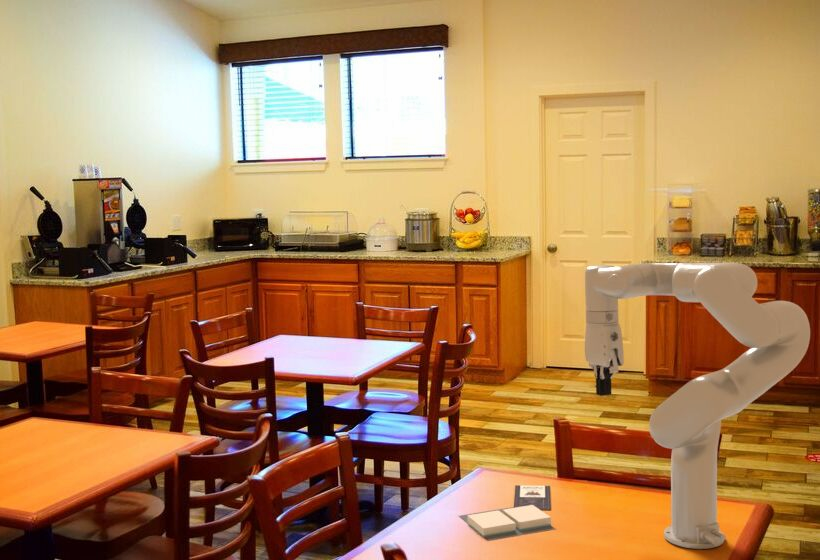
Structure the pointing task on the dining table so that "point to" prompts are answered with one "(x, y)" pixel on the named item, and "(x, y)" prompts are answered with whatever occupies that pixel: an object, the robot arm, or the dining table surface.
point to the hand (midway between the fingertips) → (603, 394)
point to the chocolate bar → (532, 496)
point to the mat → (511, 534)
